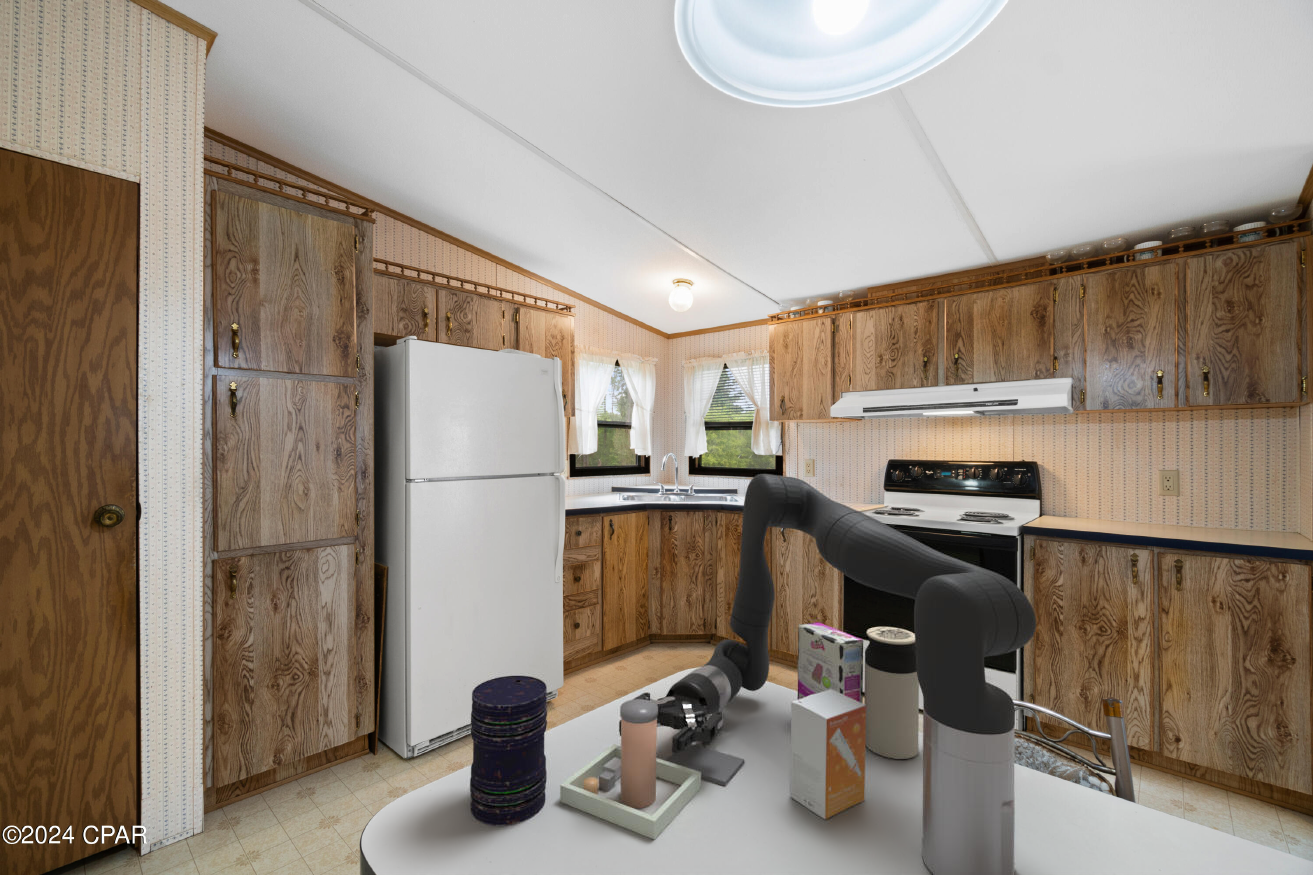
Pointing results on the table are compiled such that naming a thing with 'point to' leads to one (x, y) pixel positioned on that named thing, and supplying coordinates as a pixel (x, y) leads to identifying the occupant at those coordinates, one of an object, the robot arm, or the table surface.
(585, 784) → the parts tub
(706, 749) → the mat
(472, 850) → the table surface
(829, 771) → the small box
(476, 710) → the dark blue barrel
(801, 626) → the candy bar box
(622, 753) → the canister
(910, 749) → the travel mug
